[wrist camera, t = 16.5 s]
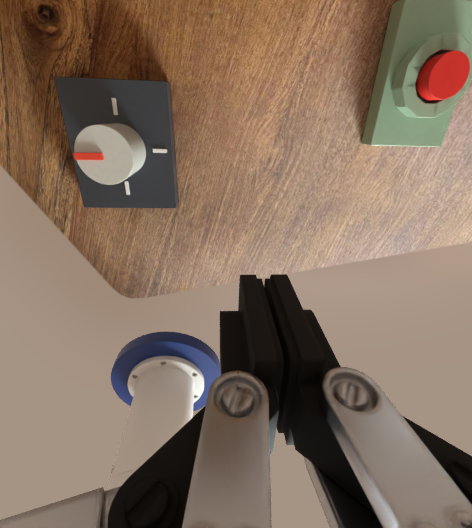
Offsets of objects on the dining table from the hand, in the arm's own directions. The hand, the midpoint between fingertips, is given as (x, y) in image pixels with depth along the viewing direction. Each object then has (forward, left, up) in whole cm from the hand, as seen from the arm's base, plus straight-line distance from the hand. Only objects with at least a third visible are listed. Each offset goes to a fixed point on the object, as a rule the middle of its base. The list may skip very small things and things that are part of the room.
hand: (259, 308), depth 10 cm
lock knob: (+3, +11, -23) cm, 25 cm away
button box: (+10, -19, -25) cm, 33 cm away
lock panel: (+3, +11, -25) cm, 28 cm away
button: (+10, -19, -21) cm, 30 cm away
